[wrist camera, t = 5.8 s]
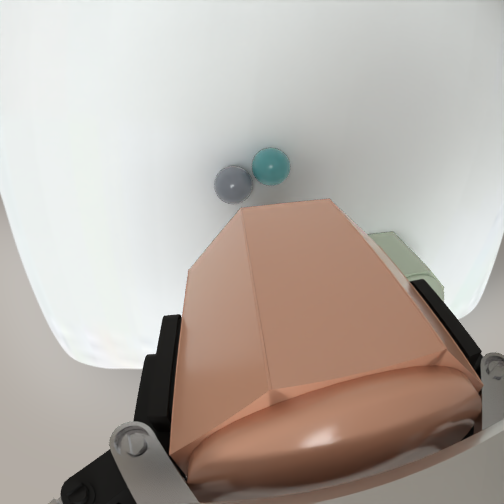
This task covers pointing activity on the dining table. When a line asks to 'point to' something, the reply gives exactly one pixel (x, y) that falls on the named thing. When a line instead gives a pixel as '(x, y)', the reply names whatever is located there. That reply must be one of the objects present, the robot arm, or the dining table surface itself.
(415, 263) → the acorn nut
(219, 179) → the marble
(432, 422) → the peach octagonal canister
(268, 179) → the marble
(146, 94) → the dining table surface
